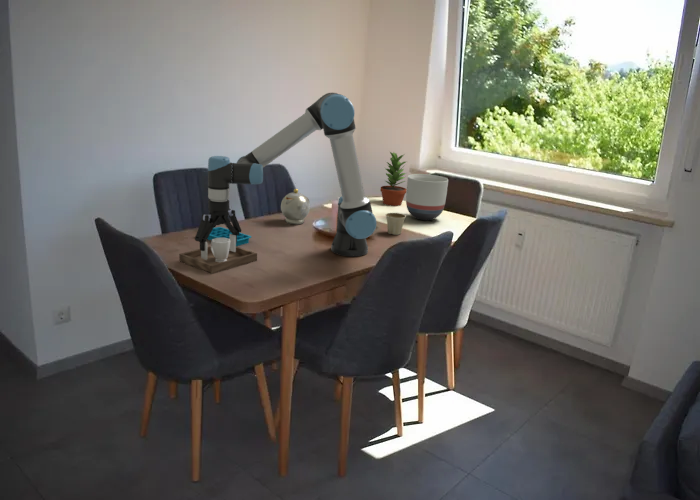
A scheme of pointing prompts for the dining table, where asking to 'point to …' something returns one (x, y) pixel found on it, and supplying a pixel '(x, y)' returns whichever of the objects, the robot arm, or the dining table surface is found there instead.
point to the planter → (426, 195)
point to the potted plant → (394, 183)
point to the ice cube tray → (228, 235)
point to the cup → (220, 249)
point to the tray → (212, 266)
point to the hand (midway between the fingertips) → (218, 254)
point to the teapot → (295, 207)
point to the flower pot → (395, 223)
